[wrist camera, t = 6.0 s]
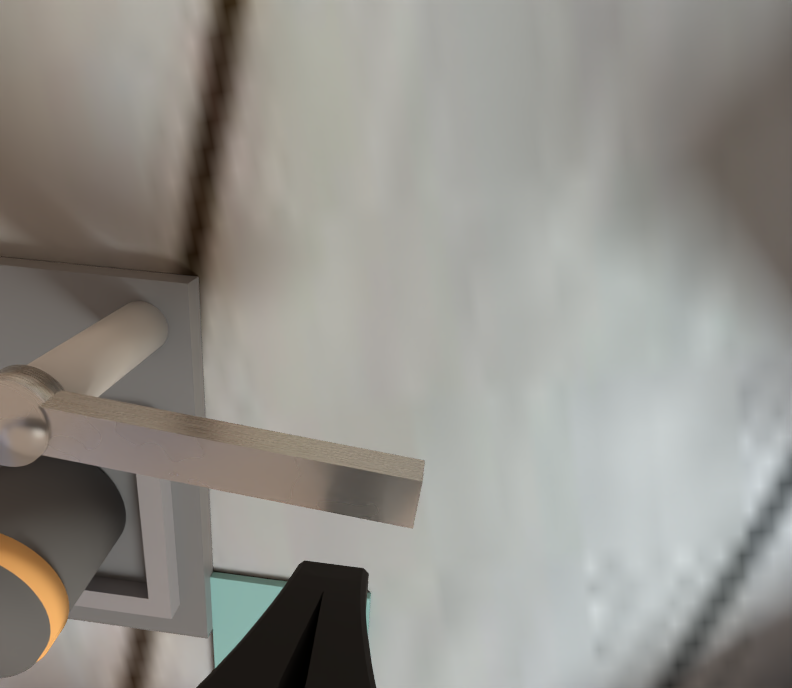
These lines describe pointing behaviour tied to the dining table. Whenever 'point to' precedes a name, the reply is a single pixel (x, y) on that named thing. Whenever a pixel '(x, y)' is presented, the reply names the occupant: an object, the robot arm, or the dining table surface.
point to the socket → (136, 384)
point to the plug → (49, 550)
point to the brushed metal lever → (201, 451)
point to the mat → (241, 607)
